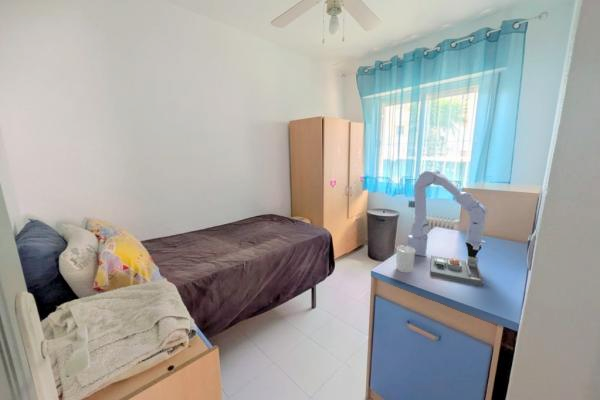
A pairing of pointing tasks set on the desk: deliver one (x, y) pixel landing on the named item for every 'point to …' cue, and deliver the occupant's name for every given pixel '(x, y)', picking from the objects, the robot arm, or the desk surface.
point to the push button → (454, 261)
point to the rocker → (440, 261)
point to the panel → (455, 271)
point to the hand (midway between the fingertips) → (471, 258)
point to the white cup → (405, 258)
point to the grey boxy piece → (472, 261)
